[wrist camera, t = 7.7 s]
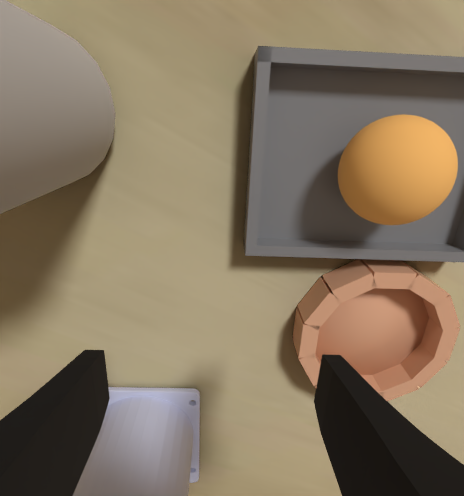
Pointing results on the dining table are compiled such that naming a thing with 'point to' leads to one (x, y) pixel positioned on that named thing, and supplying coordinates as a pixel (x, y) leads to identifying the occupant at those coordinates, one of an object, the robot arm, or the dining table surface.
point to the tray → (332, 146)
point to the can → (47, 109)
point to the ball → (397, 169)
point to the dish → (377, 324)
